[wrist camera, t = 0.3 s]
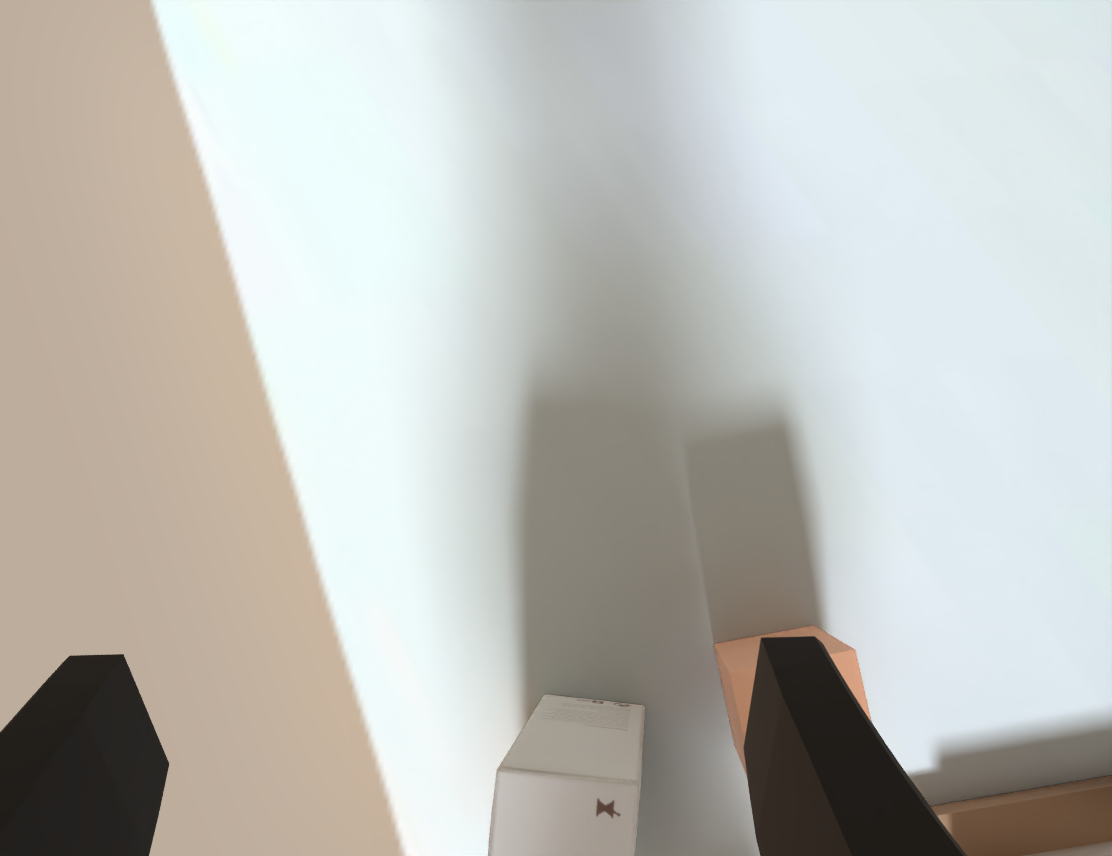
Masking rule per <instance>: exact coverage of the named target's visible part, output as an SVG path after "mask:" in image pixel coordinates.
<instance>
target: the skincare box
mask: <svg viewBox="0 0 1112 856" xmlns="http://www.w3.org/2000/svg"><path fill="white" fill-rule="evenodd" d="M644 722H645V706H643V705H636V704H628V703H619V702H611V701H604V700H593V699H583V698H574V697H565V696H556V695H549V694H545V695H544V696H543V697H542V699H541V700H540V702H539V704H538V705H537V707H536V708H535V710H534V712H533V713H532V715H531V716H530V718H529V720H528V721H527V722H526V724H525V726H524V727H523V729H522V731H521V732H520V734H519V735H518V737H517V739H516V740H515V742H514V744H513V745H512V747H511V748H510V750H509V751H508V753H507V755H506V756H505V758H504V759H503V761H502V763H501V764H500V766H499V767H498V769H497V773H496V782H495V790H494V798H493V806H492V815H491V825H490V836H489V849H488V856H635V849H636V838H637V826H638V813H639V801H640V790H641V779H642V753H643V738H644Z"/></svg>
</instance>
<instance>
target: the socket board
mask: <svg viewBox="0 0 1112 856" xmlns="http://www.w3.org/2000/svg"><path fill="white" fill-rule="evenodd" d="M930 807H931V808H932V810H933V811H934V812H935V814H936V815H937V817H938V818H939V819H940V821H941V822H942V823H943V825H944V826H945V827H946V829H947V830H948V831H949V833H950V834H951V835H952V837H953V838H954V839H955V840H956V842H957V843H958V844H959V846H960V847H961V848H962V850H963V851H964V852H965V854H966V855H967V856H1112V775H1110V776H1104V777H1099V778H1093V779H1087V780H1081V781H1075V782H1069V783H1064V784H1058V785H1052V786H1046V787H1040V788H1034V789H1029V790H1023V791H1017V792H1011V793H1005V794H999V795H994V796H988V797H982V798H976V799H970V800H964V801H959V802H953V803H947V804H941V805H935V806H930Z"/></svg>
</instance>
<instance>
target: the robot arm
mask: <svg viewBox="0 0 1112 856" xmlns="http://www.w3.org/2000/svg"><path fill="white" fill-rule="evenodd" d="M743 749H744V756H745V764H746V771H747V778H748V786H749V793H750V800H751V807H752V813H753V820H754V827H755V833H756V839H757V843H758V847H759V851H760V855H761V856H967V855H966V854H965V852H964V851H963V850H962V848H961V847H960V846H959V844H958V843H957V842H956V840H955V839H954V838H953V837H952V835H951V834H950V833H949V831H948V830H947V829H946V827H945V826H944V825H943V823H942V822H941V821H940V819H939V818H938V817H937V815H936V814H935V812H934V811H933V810H932V808H931V807H930V806H929V804H928V803H927V801H926V800H925V799H924V797H923V796H922V795H921V793H920V792H919V790H918V789H917V788H916V786H915V785H914V783H913V782H912V781H911V779H910V778H909V777H908V775H907V774H906V772H905V771H904V770H903V768H902V767H901V765H900V764H899V762H898V761H897V760H896V758H895V757H894V755H893V754H892V752H891V751H890V749H889V748H888V746H887V745H886V744H885V742H884V740H883V739H882V737H881V736H880V734H879V733H878V731H877V730H876V728H875V727H874V725H873V724H872V722H871V721H870V719H869V718H868V716H867V715H866V713H865V712H864V710H863V709H862V707H861V705H860V704H859V702H858V701H857V699H856V698H855V696H854V694H853V693H852V691H851V690H850V688H849V686H848V685H847V683H846V682H845V680H844V678H843V677H842V675H841V673H840V672H839V670H838V668H837V667H836V665H835V663H834V662H833V660H832V658H831V657H830V655H829V653H828V651H827V650H826V648H825V646H824V644H823V643H822V642H821V641H820V640H819V639H817V638H816V637H815V636H802V637H764V638H761V640H760V646H759V653H758V659H757V665H756V672H755V678H754V684H753V691H752V697H751V703H750V710H749V716H748V722H747V729H746V735H745V742H744V748H743ZM168 767H169V762H168V760H167V757H166V755H165V753H164V750H163V748H162V745H161V743H160V741H159V738H158V736H157V734H156V731H155V729H154V726H153V724H152V722H151V719H150V717H149V714H148V712H147V710H146V707H145V705H144V703H143V700H142V698H141V695H140V693H139V690H138V688H137V686H136V683H135V681H134V679H133V676H132V674H131V672H130V669H129V667H128V664H127V662H126V659H125V657H124V655H123V654H119V655H85V656H84V655H82V656H69V657H68V658H67V659H66V660H65V661H64V662H63V663H62V664H61V665H60V666H59V667H58V669H57V670H56V671H55V672H54V673H53V674H52V675H51V676H50V677H49V678H48V679H47V681H46V682H45V683H44V684H43V685H42V686H41V687H40V688H39V689H38V691H37V692H36V693H35V694H34V695H33V696H32V697H31V698H30V700H29V701H28V702H27V703H26V704H25V705H24V707H22V708H21V710H20V711H19V712H18V713H17V714H16V715H15V716H14V717H13V719H12V720H11V721H10V722H9V723H8V724H7V725H6V726H5V728H4V729H3V730H2V731H1V732H0V856H149V853H150V848H151V844H152V840H153V836H154V832H155V828H156V823H157V819H158V815H159V810H160V806H161V800H162V796H163V791H164V786H165V782H166V777H167V771H168Z"/></svg>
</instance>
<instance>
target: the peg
mask: <svg viewBox="0 0 1112 856" xmlns="http://www.w3.org/2000/svg"><path fill="white" fill-rule="evenodd" d="M802 636H815V637H816V638H817V639H819V640H820V641H821V642H822V643H823V644H824V646H825V648H826V650H827V651H828V653H829V655H830V657H831V658H832V660H833V662H834V663H835V665H836V667H837V668H838V670H839V672H840V673H841V675H842V677H843V678H844V680H845V682H846V683H847V685H848V686H849V688H850V690H851V691H852V693H853V694H854V696H855V698H856V699H857V701H858V702H859V704H860V705H861V707H862V709H863V710H864V712H865V713H866V715H867V716H868V718H869V719H870V721H871V717H870V713H869V708H868V704H867V700H866V695H865V691H864V686H863V682H862V678H861V673H860V669H859V664H858V660H857V655H856V651H855V649H853V648H852V647H850V646H848V645H846V644H845V643H843V642H841V641H839V640H838V639H836V638H834V637H833V636H831V635H829V634H827V633H826V632H824V631H822V630H820V629H819V628H817V627H815V626H814V625H813V626H807V627H802V628H796V629H791V630H786V631H780V632H775V633H770V634H764V635H759V636H753V637H748V638H743V639H737V640H732V641H727V642H721V643H716V644H714V649H715V654H716V659H717V663H718V668H719V673H720V678H721V682H722V687H723V692H724V697H725V702H726V706H727V711H728V716H729V721H730V725H731V730H732V735H733V740H734V745H735V748H736V750H737V753H738V755H739V757H740V760H741V762H742V765H743V767H744V770H745V772H746V775H747V771H746V764H745V756H744V749H743V748H744V742H745V735H746V729H747V722H748V716H749V710H750V703H751V697H752V691H753V684H754V678H755V672H756V665H757V659H758V653H759V646H760V640H761V638H764V637H802Z"/></svg>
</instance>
